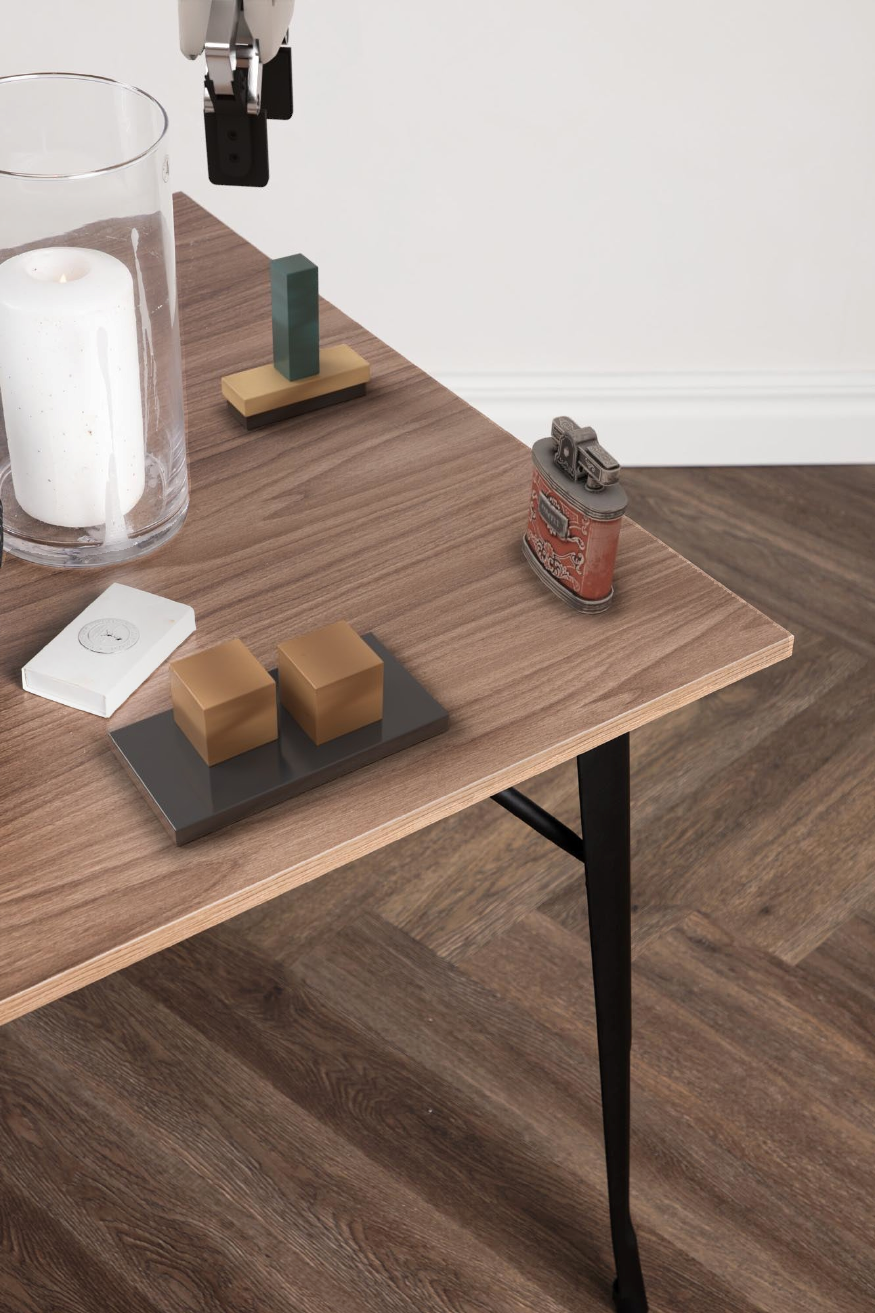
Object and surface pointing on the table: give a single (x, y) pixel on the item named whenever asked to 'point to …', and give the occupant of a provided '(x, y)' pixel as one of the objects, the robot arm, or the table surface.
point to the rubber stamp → (295, 356)
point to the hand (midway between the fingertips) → (253, 149)
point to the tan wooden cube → (224, 701)
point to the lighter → (574, 516)
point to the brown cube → (330, 681)
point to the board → (266, 757)
